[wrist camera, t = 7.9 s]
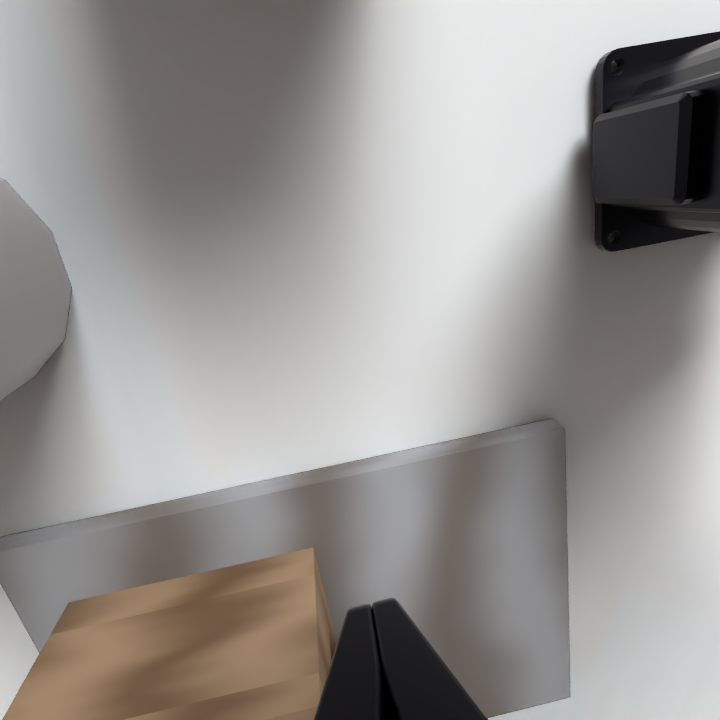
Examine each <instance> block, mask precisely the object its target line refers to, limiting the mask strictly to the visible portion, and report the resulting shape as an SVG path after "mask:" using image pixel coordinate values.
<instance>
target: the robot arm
mask: <svg viewBox="0 0 720 720" xmlns="http://www.w3.org/2000/svg"><path fill="white" fill-rule="evenodd" d="M612 61H614V62H615V63H616V64H617V72H616V74H615V75H613V73H612V72H611V70H610V66H611V62H612ZM593 198H594V199H595V241H596V245H597V246H598V248H599V249H601V250H604V251H619V250H625V249H630V248H635V247H640V246H645V245H650V244H655V243H661V242H666V241H671V240H676V239H681V238H686V237H691V236H697V235H702V234H707V233H712V232H720V32H714V33H708V34H702V35H696V36H690V37H684V38H678V39H672V40H666V41H660V42H654V43H648V44H642V45H636V46H630V47H624V48H618V49H616V50H613V51H611V52H609V53H607V54H605V55H604V56H603V57H601V58H600V60H599V62H598V64H597V67H596V120H595V122H594V123H593ZM611 232H614V239H613V241H612V242H611V243H609V242H608V236H609V234H610V233H611ZM314 720H488V719H487V717H486V716H485V715H484V714H483V712H482V711H481V710H480V708H479V707H478V706H477V704H476V703H475V702H474V700H473V699H472V698H471V697H470V695H469V694H468V693H467V691H466V690H465V689H464V687H463V686H462V685H461V683H460V682H459V681H458V679H457V678H456V677H455V676H454V674H453V673H452V672H451V670H450V669H449V668H448V666H447V665H446V664H445V662H444V661H443V660H442V659H441V657H440V656H439V655H438V653H437V652H436V651H435V649H434V648H433V647H432V645H431V644H430V643H429V642H428V640H427V639H426V638H425V636H424V635H423V634H422V632H421V631H420V630H419V628H418V627H417V626H416V625H415V623H414V622H413V621H412V619H411V618H410V617H409V615H408V614H407V613H406V611H405V610H404V609H403V607H402V606H401V605H400V604H399V602H398V601H397V600H396V599H395V598H388V599H384V600H379V601H376V602H374V603H373V604H372V606H371V605H370V604H363V605H359V606H355V607H351V608H349V609H348V610H347V612H346V615H345V618H344V621H343V625H342V628H341V631H340V635H339V638H338V641H337V645H336V648H335V651H334V654H333V658H332V661H331V664H330V668H329V671H328V674H327V677H326V681H325V684H324V687H323V691H322V694H321V697H320V700H319V704H318V707H317V710H316V714H315V717H314Z"/></svg>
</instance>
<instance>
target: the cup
mask: <svg viewBox="0 0 720 720" xmlns="http://www.w3.org/2000/svg"><path fill="white" fill-rule="evenodd" d="M71 292H72V287H71V284H70V281H69V278H68V275H67V273H66V270H65V267H64V264H63V261H62V258H61V256H60V253H59V250H58V247H57V244H56V242H55V239H54V236H53V233H52V231H51V230H50V229H49V228H48V227H47V226H46V225H45V223H44V222H43V221H42V220H41V219H40V218H39V217H38V216H37V215H36V214H35V212H34V211H33V210H32V209H31V208H30V207H29V206H28V205H27V204H26V202H25V201H24V200H23V199H22V198H21V197H20V196H19V195H18V194H17V192H16V191H15V190H14V189H13V188H12V187H11V186H10V185H9V184H8V182H7V181H5V180H3V179H1V178H0V400H2V399H3V398H5V397H6V396H8V395H9V394H10V393H12V392H13V391H15V390H16V389H18V388H19V387H21V386H22V385H23V384H25V383H26V382H28V381H29V380H31V379H32V378H34V377H35V376H36V374H37V373H38V372H39V371H40V369H41V368H42V367H43V366H44V364H45V363H46V362H47V361H48V359H49V358H50V357H51V356H52V354H53V353H54V352H55V351H56V350H57V348H58V347H59V346H60V345H61V343H62V342H63V341H64V340H65V335H66V328H67V321H68V313H69V306H70V299H71Z"/></svg>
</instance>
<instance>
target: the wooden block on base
mask: <svg viewBox="0 0 720 720" xmlns="http://www.w3.org/2000/svg"><path fill="white" fill-rule="evenodd" d="M0 583H1V585H2V587H3V589H4V590H5V592H6V594H7V596H8V598H9V599H10V601H11V603H12V605H13V607H14V608H15V610H16V612H17V614H18V616H19V617H20V619H21V621H22V623H23V624H24V626H25V628H26V630H27V632H28V633H29V635H30V637H31V639H32V641H33V642H34V644H35V646H36V648H37V650H38V651H39V653H40V654H39V656H38V657H37V659H36V661H35V663H34V665H33V666H32V668H31V670H30V672H29V673H28V675H27V677H26V679H25V681H24V682H23V684H22V686H21V688H20V689H19V691H18V693H17V695H16V697H15V698H14V700H13V702H12V704H11V705H10V707H9V709H8V711H7V712H6V714H5V716H4V718H3V720H314V717H315V714H316V710H317V707H318V704H319V700H320V697H321V694H322V691H323V687H324V684H325V681H326V677H327V674H328V671H329V668H330V664H331V661H332V658H333V654H334V651H335V648H336V645H337V641H338V638H339V635H340V631H341V628H342V625H343V621H344V618H345V615H346V612H347V610H348V609H349V608H351V607H355V606H359V605H363V604H370V605H371V606H372V604H373V603H374V602H376V601H379V600H384V599H388V598H395V599H396V600H397V601H398V602H399V604H400V605H401V606H402V607H403V609H404V610H405V611H406V613H407V614H408V615H409V617H410V618H411V619H412V621H413V622H414V623H415V625H416V626H417V627H418V628H419V630H420V631H421V632H422V634H423V635H424V636H425V638H426V639H427V640H428V642H429V643H430V644H431V645H432V647H433V648H434V649H435V651H436V652H437V653H438V655H439V656H440V657H441V659H442V660H443V661H444V662H445V664H446V665H447V666H448V668H449V669H450V670H451V672H452V673H453V674H454V676H455V677H456V678H457V679H458V681H459V682H460V683H461V685H462V686H463V687H464V689H465V690H466V691H467V693H468V694H469V695H470V697H471V698H472V699H473V700H474V702H475V703H476V704H477V706H478V707H479V708H480V710H481V711H482V712H483V714H484V715H485V716H486V717H487V718H490V717H494V716H498V715H502V714H506V713H510V712H514V711H518V710H522V709H526V708H530V707H534V706H538V705H542V704H546V703H550V702H553V701H557V700H561V699H565V698H569V697H570V652H569V602H568V552H567V502H566V452H565V429H564V428H563V427H562V426H561V425H559V424H558V423H557V422H556V421H555V420H554V419H548V420H543V421H539V422H534V423H529V424H525V425H520V426H515V427H511V428H506V429H501V430H497V431H492V432H488V433H483V434H478V435H474V436H469V437H464V438H460V439H455V440H450V441H446V442H441V443H436V444H432V445H427V446H422V447H418V448H413V449H408V450H404V451H399V452H394V453H390V454H385V455H380V456H376V457H371V458H366V459H362V460H357V461H353V462H348V463H343V464H339V465H334V466H329V467H325V468H320V469H315V470H311V471H306V472H301V473H297V474H292V475H287V476H283V477H278V478H273V479H269V480H264V481H259V482H255V483H250V484H245V485H241V486H236V487H231V488H227V489H222V490H218V491H213V492H208V493H204V494H199V495H194V496H190V497H185V498H180V499H176V500H171V501H166V502H162V503H157V504H152V505H148V506H143V507H138V508H134V509H129V510H124V511H120V512H115V513H110V514H106V515H101V516H96V517H92V518H87V519H83V520H78V521H73V522H69V523H64V524H59V525H55V526H50V527H45V528H41V529H36V530H31V531H27V532H22V533H17V534H13V535H8V536H3V537H0Z"/></svg>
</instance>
